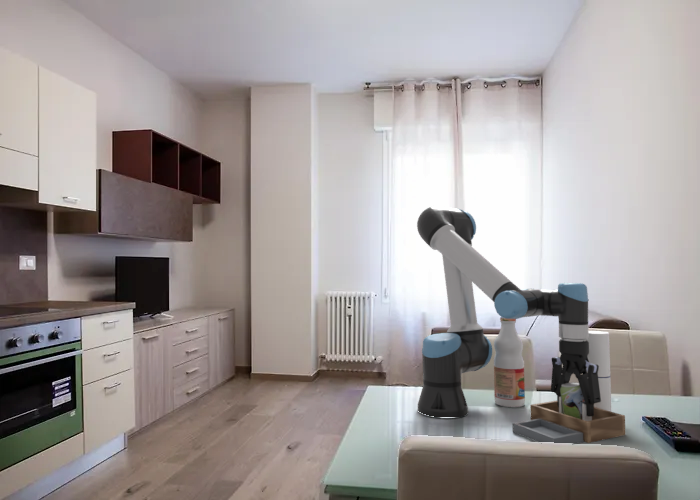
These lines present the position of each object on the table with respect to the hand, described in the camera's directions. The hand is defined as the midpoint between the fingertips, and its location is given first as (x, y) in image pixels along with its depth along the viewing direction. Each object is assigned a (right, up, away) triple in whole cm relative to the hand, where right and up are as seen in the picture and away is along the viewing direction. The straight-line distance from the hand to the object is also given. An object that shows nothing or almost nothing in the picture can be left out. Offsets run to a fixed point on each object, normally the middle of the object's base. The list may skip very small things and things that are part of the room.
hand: (575, 423), depth 137 cm
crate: (0, -1, 0) cm, 1 cm away
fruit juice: (-10, -3, +25) cm, 27 cm away
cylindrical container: (+10, -2, +8) cm, 14 cm away
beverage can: (0, -1, 0) cm, 1 cm away
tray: (-11, -1, -7) cm, 13 cm away
